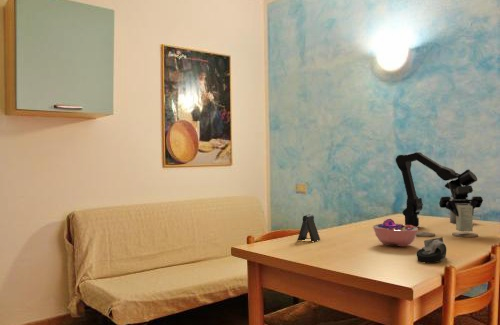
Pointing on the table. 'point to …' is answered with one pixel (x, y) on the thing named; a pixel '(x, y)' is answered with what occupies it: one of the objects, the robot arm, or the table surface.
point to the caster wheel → (432, 251)
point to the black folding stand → (308, 229)
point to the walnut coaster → (465, 234)
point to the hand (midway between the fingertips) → (465, 215)
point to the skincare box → (464, 218)
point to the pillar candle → (452, 215)
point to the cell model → (395, 233)
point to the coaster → (424, 234)
